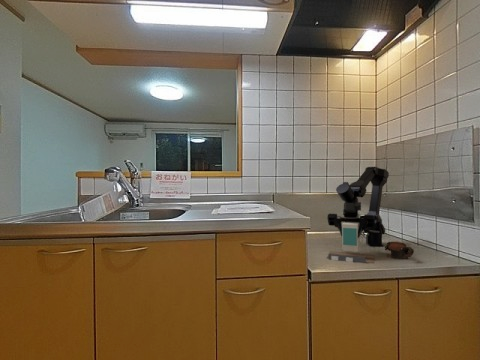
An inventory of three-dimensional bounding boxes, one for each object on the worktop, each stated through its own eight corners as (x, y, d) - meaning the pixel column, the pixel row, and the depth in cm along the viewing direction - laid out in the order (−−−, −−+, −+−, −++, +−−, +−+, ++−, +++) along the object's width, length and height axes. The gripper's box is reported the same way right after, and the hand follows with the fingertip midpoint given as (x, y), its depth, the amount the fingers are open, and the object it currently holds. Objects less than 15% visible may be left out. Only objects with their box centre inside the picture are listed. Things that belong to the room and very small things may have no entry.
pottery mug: (379, 259, 120) (380, 241, 123) (393, 266, 124) (393, 248, 127) (407, 258, 110) (407, 238, 114) (421, 266, 114) (421, 246, 117)
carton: (343, 248, 121) (342, 222, 121) (358, 249, 119) (357, 223, 119) (342, 250, 118) (341, 224, 118) (357, 251, 115) (357, 224, 115)
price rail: (328, 261, 117) (328, 253, 117) (365, 264, 111) (365, 257, 111) (328, 261, 116) (328, 254, 116) (365, 265, 110) (365, 258, 110)
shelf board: (330, 253, 129) (330, 251, 129) (373, 257, 121) (373, 255, 121) (326, 260, 117) (326, 258, 117) (374, 265, 110) (374, 263, 110)
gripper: (327, 195, 126) (324, 224, 116) (374, 195, 118) (374, 226, 108) (330, 211, 133) (327, 239, 123) (374, 212, 125) (374, 242, 115)
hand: (349, 236), depth 117 cm, fingers closed on carton, 6 cm apart
